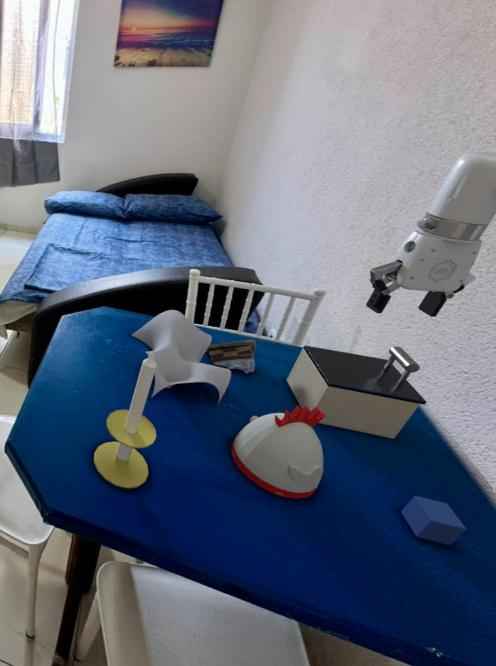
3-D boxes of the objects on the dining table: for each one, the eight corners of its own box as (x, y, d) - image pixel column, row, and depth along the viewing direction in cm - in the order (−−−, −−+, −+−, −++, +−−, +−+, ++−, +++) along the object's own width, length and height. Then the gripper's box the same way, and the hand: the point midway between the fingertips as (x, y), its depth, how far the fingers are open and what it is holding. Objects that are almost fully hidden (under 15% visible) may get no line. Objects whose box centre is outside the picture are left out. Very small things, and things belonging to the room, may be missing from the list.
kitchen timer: (334, 499, 72) (376, 440, 65) (258, 498, 71) (292, 439, 64) (283, 435, 84) (313, 380, 77) (217, 435, 84) (242, 379, 76)
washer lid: (386, 362, 91) (402, 338, 88) (424, 405, 79) (444, 379, 76) (302, 347, 95) (314, 324, 92) (327, 386, 83) (342, 361, 80)
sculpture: (233, 407, 91) (248, 374, 86) (146, 397, 93) (156, 364, 88) (197, 341, 112) (207, 311, 108) (127, 334, 114) (134, 305, 110)
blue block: (432, 519, 69) (447, 503, 67) (450, 545, 65) (467, 529, 63) (400, 511, 70) (414, 495, 68) (416, 537, 66) (431, 520, 64)
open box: (361, 394, 96) (382, 361, 91) (394, 438, 84) (419, 404, 80) (286, 379, 99) (302, 347, 95) (308, 420, 88) (327, 386, 83)
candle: (151, 454, 79) (189, 343, 66) (144, 497, 71) (186, 380, 58) (99, 435, 83) (126, 326, 70) (88, 474, 75) (115, 358, 62)
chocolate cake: (204, 368, 103) (254, 354, 95) (200, 346, 108) (248, 330, 100) (223, 387, 106) (274, 374, 99) (219, 364, 111) (267, 351, 103)
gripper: (416, 232, 67) (367, 319, 75) (528, 238, 66) (465, 325, 75) (381, 217, 74) (339, 298, 82) (482, 222, 73) (429, 304, 81)
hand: (399, 311), depth 78 cm, fingers open, 9 cm apart
